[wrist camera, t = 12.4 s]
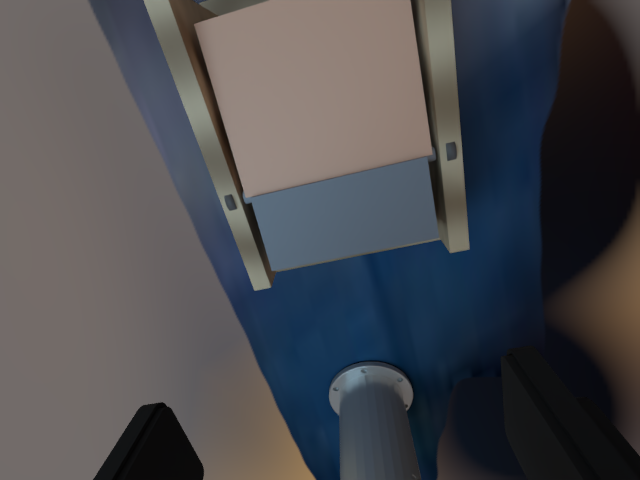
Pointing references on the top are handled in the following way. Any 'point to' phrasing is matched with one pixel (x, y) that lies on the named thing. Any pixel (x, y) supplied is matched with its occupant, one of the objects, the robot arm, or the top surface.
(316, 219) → the trapdoor
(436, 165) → the frame
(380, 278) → the top surface
